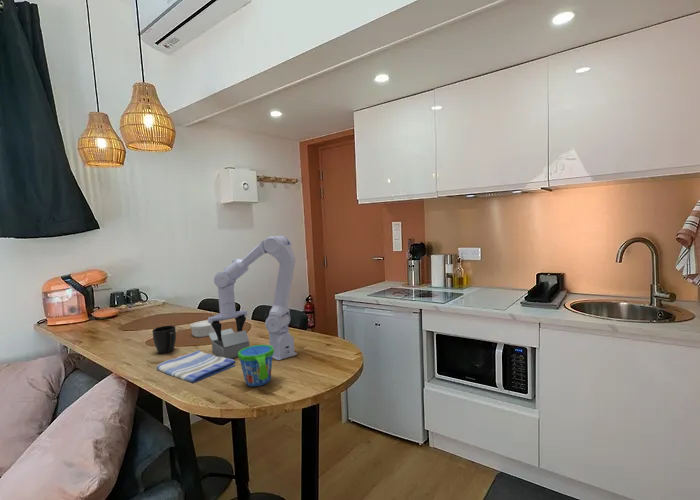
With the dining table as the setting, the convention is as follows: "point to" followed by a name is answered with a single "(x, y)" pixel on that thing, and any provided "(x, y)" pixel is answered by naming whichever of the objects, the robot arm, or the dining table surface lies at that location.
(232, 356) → the carton
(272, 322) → the robot arm
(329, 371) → the dining table surface
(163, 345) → the mug
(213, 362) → the dish towel
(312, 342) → the dining table surface
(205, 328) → the ramekin
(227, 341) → the near flap
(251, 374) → the snack cup
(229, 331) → the far flap
